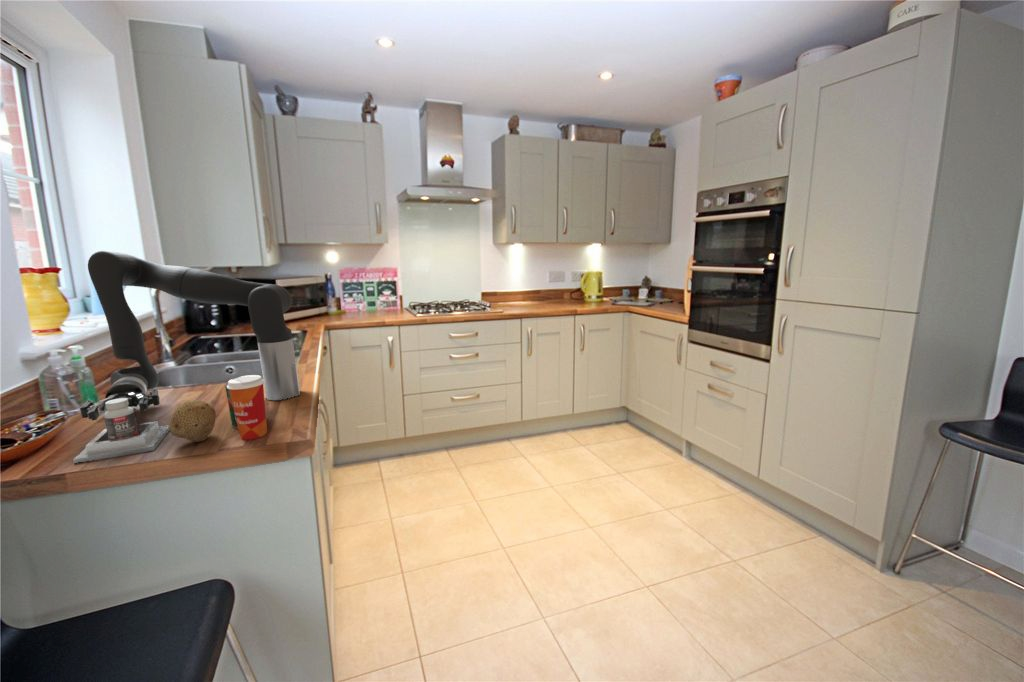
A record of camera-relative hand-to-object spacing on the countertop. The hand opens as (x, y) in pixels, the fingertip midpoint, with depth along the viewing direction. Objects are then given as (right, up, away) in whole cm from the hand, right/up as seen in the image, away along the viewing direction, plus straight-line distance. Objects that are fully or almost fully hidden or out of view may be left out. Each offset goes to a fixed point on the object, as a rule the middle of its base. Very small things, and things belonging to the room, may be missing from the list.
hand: (118, 411), depth 104 cm
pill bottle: (-1, -7, +3) cm, 8 cm away
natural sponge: (+16, -8, +3) cm, 18 cm away
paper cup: (+28, -7, +6) cm, 29 cm away
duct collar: (0, -8, +3) cm, 9 cm away
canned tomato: (+22, -5, +14) cm, 26 cm away
